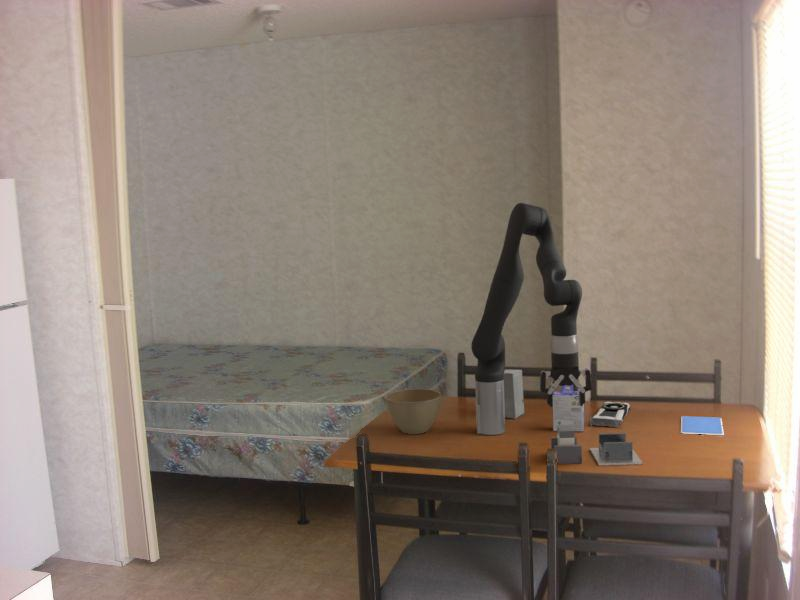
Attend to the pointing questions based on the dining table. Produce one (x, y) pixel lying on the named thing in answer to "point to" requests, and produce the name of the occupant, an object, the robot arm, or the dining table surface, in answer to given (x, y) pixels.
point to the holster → (567, 452)
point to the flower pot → (414, 409)
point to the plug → (565, 435)
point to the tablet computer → (701, 425)
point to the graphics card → (610, 414)
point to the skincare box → (513, 393)
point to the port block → (615, 450)
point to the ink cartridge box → (568, 409)
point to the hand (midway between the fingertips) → (566, 405)
